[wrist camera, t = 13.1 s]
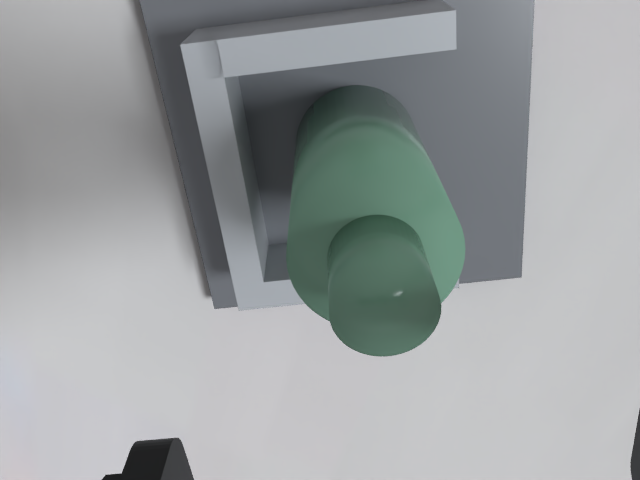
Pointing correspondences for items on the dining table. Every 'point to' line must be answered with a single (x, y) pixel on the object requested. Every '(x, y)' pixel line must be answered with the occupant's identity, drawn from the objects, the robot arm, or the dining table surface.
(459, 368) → the dining table surface
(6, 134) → the dining table surface
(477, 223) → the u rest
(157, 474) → the robot arm
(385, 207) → the green bottle
